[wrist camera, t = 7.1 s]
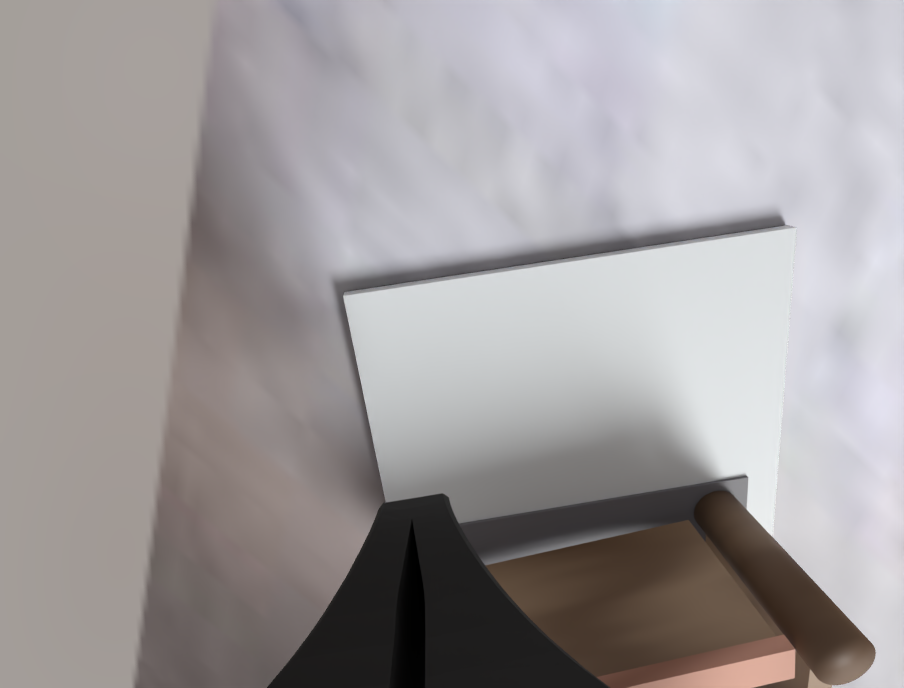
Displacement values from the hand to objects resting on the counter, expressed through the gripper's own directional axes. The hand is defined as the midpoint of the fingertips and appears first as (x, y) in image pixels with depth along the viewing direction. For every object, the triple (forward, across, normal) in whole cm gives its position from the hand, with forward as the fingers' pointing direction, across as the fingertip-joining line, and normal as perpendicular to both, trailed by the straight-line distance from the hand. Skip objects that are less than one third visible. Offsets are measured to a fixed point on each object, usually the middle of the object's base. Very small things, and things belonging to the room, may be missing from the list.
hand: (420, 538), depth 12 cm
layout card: (+5, -5, +4) cm, 8 cm away
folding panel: (+4, -4, +5) cm, 7 cm away
